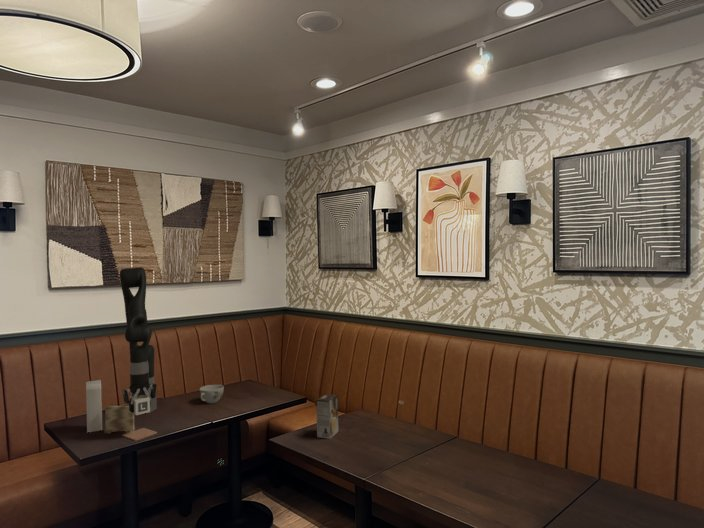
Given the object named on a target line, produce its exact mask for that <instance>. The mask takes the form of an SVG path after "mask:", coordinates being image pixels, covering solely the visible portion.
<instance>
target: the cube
mask: <svg viewBox="0 0 704 528" xmlns="http://www.w3.org/2000/svg"><path fill="white" fill-rule="evenodd" d="M133 404H134V413H132V414H134V416H139V415H145V414H144V413H146V414H149V413H148V412H150V398H148V397H145V396H140V397H137V398H136V399H135V400H134V403H133ZM150 413H151V412H150Z"/></svg>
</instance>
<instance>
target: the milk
mask: <svg viewBox="0 0 704 528" xmlns="http://www.w3.org/2000/svg"><path fill="white" fill-rule="evenodd" d="M85 395H86V397H85V400H86V407H85V408H86V433H88V432H89V433H93V432H99V431H100V430H101V431H103V404H102V403H103V402H102V380H101V379H97V380H89V381H86V382H85Z"/></svg>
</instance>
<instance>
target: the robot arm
mask: <svg viewBox="0 0 704 528" xmlns="http://www.w3.org/2000/svg"><path fill="white" fill-rule="evenodd" d="M146 274H147V273H146V270H145V268H144V267H139V266H138V267H130V268H129V267H127V268H121V269H120V271H119V280H120V282H119V283H120V286H121V291H122V295H123V301H124V312H125V319H126V326H127V327H126V329H125V333H124V338H125V341H126V342H128V344H129V361H130V363H129V388H126V389H122V390H121V391H122V397H123V402H124V403H125V404H126V405H128V406H129V411H130V412H131V413H134V404H133V403H134V400H135V399H136V398H137V397H140V396H145V397H148V398H150V412H148V413H147V414H150V413H153V412H154V410H155V411H156V409H157V408H158V405H157V404H158V403H157V401H158V400H157V384H155V347H154V345H152V344H150V341H151V339H152V336H153V330H152V328H151V326H150V325H148V315H147V314H148V313H147V309H146V297H147V296H146V295H147V275H146ZM132 288H138V290H137V292H135V295H134V294H133V293H132V290H131V289H132ZM138 343H142V344H141V345H139V344H138ZM129 393H131V394H130V395H129ZM143 415H146V414H145V413H144V414H143Z"/></svg>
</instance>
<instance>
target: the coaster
mask: <svg viewBox="0 0 704 528" xmlns="http://www.w3.org/2000/svg"><path fill="white" fill-rule="evenodd" d="M156 434H158V432H157V431H155V430H151V429H150V428H149V429H148V428H146V427H142V428H139V429H135V430H134V431H132V432H130V433H124V434H122V435H121V437H123V436H124V438H126V439H129V440H132V441H134V442H137V441H139V440H142V439H145V438H147V437H151V436H154V435H156Z"/></svg>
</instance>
